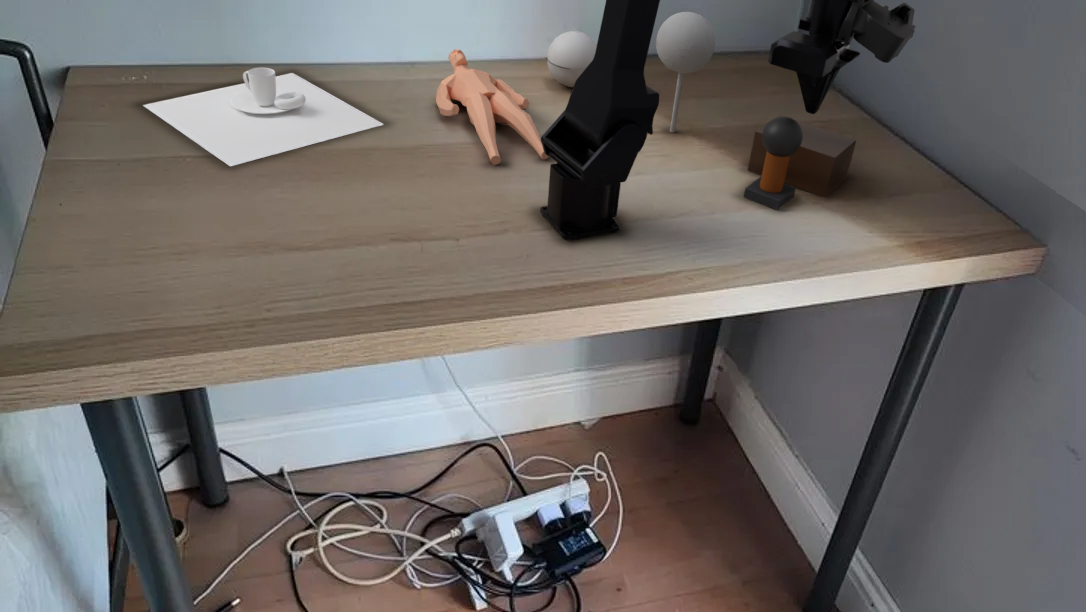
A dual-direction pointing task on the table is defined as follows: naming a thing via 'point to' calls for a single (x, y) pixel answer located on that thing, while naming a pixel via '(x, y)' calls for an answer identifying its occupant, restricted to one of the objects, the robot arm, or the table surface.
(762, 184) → the ball-topped stamp
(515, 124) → the male figurine
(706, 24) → the lollipop
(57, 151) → the table surface
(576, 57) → the white oval body
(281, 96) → the teacup and saucer
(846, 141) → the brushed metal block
